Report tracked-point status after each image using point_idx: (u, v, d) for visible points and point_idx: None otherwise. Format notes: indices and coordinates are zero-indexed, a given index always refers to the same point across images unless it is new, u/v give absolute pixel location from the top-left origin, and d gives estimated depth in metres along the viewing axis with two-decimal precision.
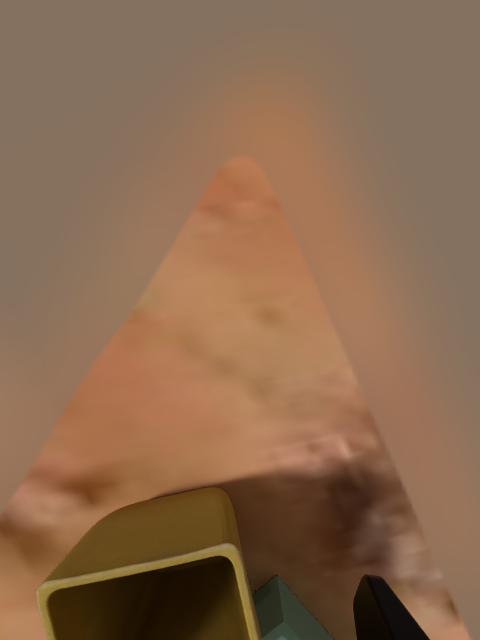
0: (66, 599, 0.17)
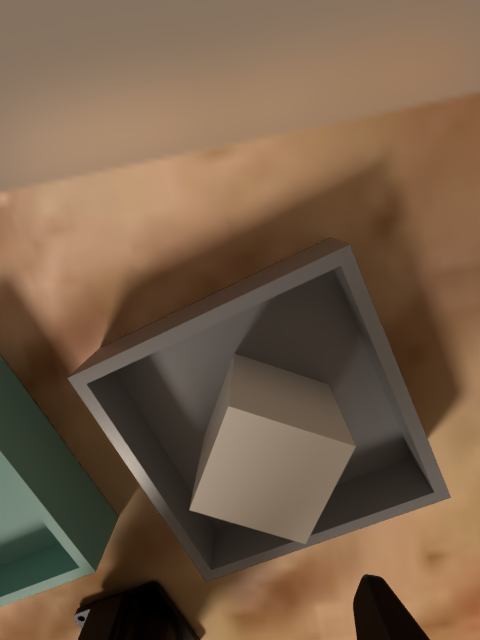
0: None
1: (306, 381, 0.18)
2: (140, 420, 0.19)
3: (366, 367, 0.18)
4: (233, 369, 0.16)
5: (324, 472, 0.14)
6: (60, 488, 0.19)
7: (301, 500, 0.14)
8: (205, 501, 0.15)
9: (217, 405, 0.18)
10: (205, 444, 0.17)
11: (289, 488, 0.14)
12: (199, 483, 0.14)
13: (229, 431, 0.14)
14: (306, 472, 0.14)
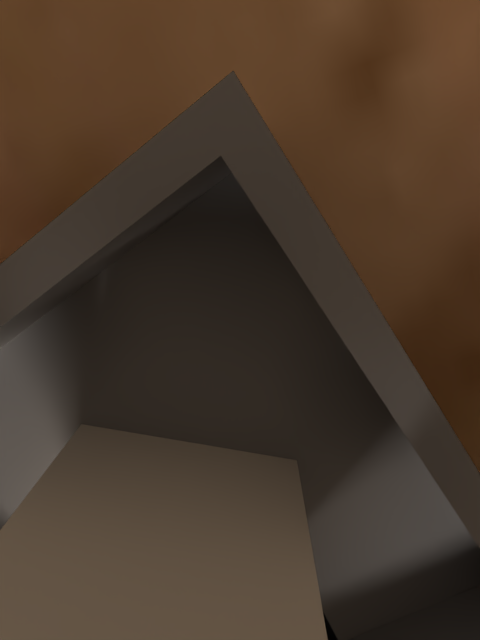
0: None
1: (242, 467, 0.08)
2: None
3: (373, 415, 0.08)
4: (38, 483, 0.07)
5: None
6: None
7: None
8: None
9: None
10: None
11: None
12: None
13: None
14: None
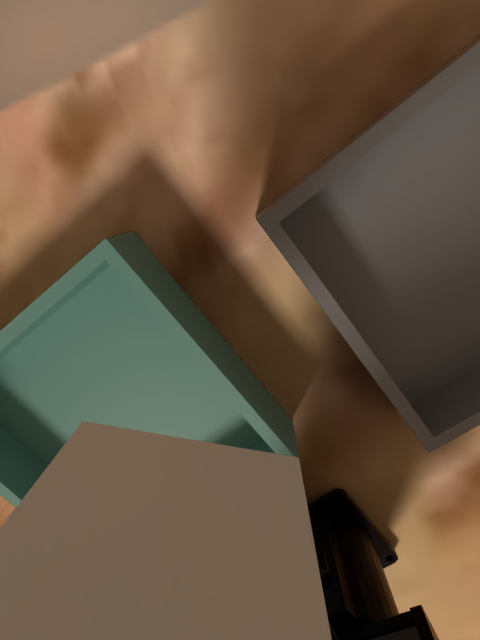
0: None
1: (244, 464, 0.08)
2: None
3: None
4: (40, 480, 0.07)
5: None
6: (242, 380, 0.17)
7: None
8: None
9: None
10: None
11: None
12: None
13: None
14: None
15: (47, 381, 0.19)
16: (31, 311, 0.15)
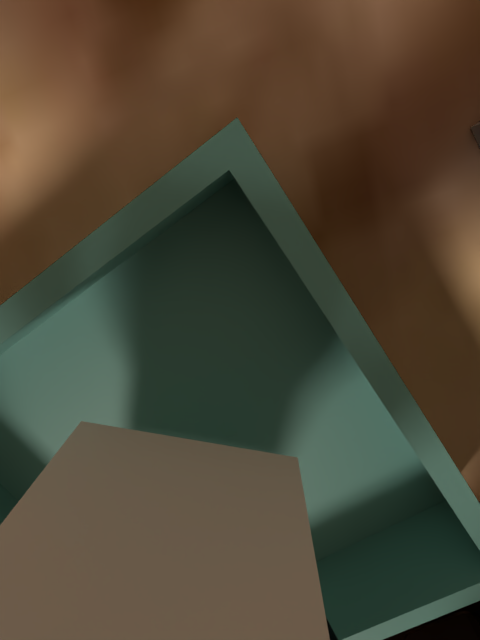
0: None
1: (242, 464, 0.08)
2: None
3: None
4: (38, 480, 0.07)
5: None
6: None
7: None
8: None
9: None
10: None
11: None
12: None
13: None
14: None
15: (67, 405, 0.11)
16: (57, 276, 0.07)
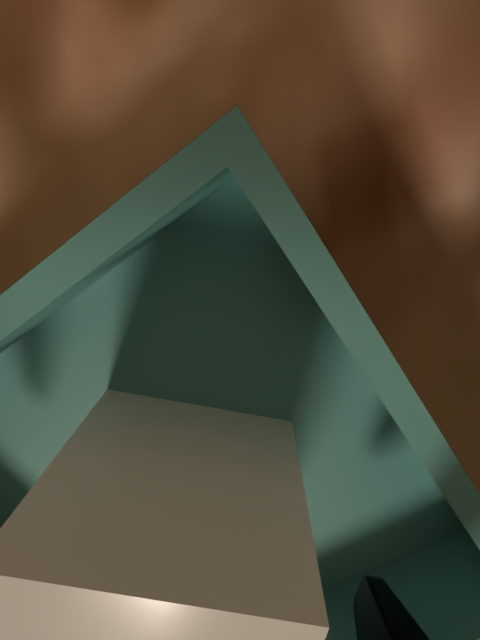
0: None
1: (245, 425, 0.09)
2: None
3: None
4: (77, 430, 0.08)
5: None
6: None
7: None
8: None
9: None
10: None
11: None
12: None
13: None
14: None
15: (51, 426, 0.10)
16: (30, 289, 0.06)
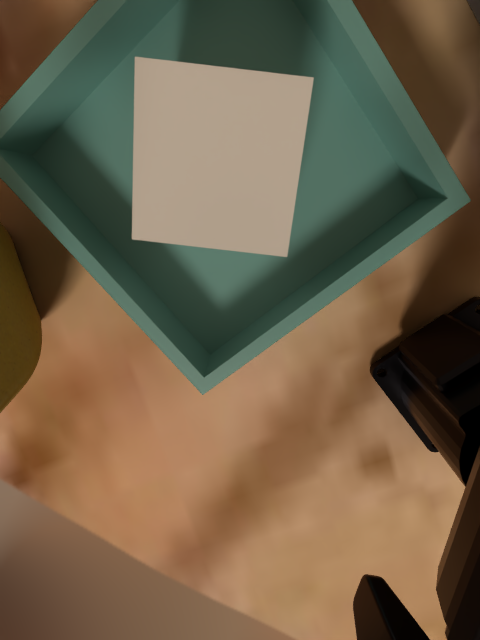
0: None
1: None
2: None
3: None
4: None
5: (283, 132, 0.11)
6: None
7: (264, 188, 0.11)
8: (147, 221, 0.11)
9: None
10: None
11: (245, 171, 0.11)
12: (133, 196, 0.11)
13: (147, 98, 0.10)
14: (259, 140, 0.11)
15: None
16: None
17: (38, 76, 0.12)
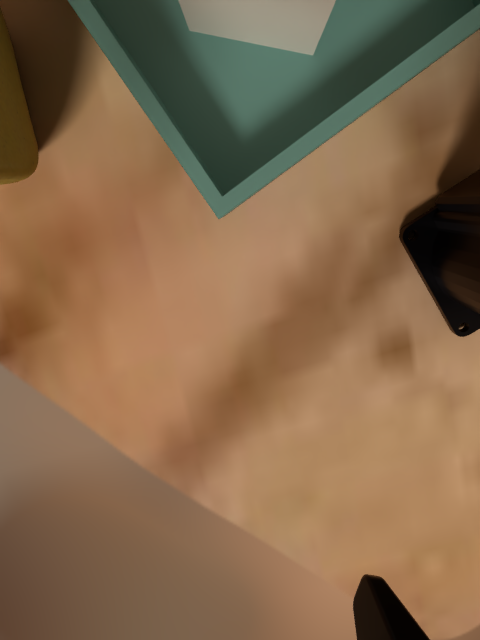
0: None
1: None
2: None
3: None
4: None
5: None
6: None
7: None
8: None
9: None
10: None
11: None
12: None
13: None
14: None
15: None
16: None
17: None
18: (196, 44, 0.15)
